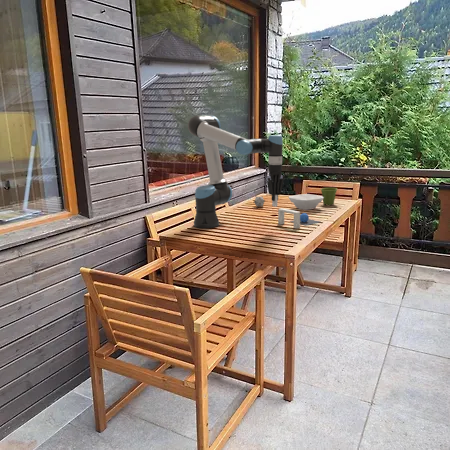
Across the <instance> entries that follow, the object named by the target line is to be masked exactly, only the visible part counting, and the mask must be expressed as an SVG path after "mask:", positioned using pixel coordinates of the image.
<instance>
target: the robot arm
mask: <svg viewBox="0 0 450 450" xmlns="http://www.w3.org/2000/svg"><path fill="white" fill-rule="evenodd" d="M221 127H222V125H221V121H220V119H218V117H216V116H215V115H210V114H208V115H207V114H206V115H193V116H192V117H190V118H189V120H188V122H187V129H188V132H189V133H190V134H191V135H192V136H193V137H198V138H199V140H200V141H201V142H202V145H203V149H204V156H205V160H206V166H207V170H208V171H207V172H208V176H209V177H208V178H209V183H207V184H205V185H200V186H198V187H196V188H195V190H194V192H195V193H194V196H195V197H194V198H195V217H194V220H193V227H195V228H197V229H211V228H217V227H219V226H220V221H219V217H218V215H217V209H216V207H217V206H221V205H225V204H226V203H228V202H230V200H232V197H233V189H232V187H231V186H230V185H229V184H228V181H227V179H225V178H224V172H223V167H222V160H221V156H220V150H219V144H220V145H221V146H225V147H227V148H230V149H232V150H235V151H237V154H239V155H244V156H246V155H250V154H251V155H252V154H260V153H261V154H262V153H263V154H264V153H267V154H268V158H267V159H268V165H267V169H268V172H269V173H268V176H266V177H265V178H264V179H265V182H266V185H267V186H266V187H267V190H268V194H269V195H270V196H271V201H272V203H271V205H272V207H274V208H277V207H278V205H279V203H278V201H279V196H280V195H281V193H282V190H283V186H284V185H283V183H284V180H285V178H286V176H285V175H282V171H283V147H284V146H283V145H284V142H283V136H282V135H280V134H273V135H272V134H271V135H269V136H268V138H251V139H249V138H245V137H242V136H239V135H237V134H234V133H232V132H229V131H227V130H224V129H222V128H221Z"/></svg>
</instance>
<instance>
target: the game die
mask: <svg viewBox="0 0 450 450" xmlns="http://www.w3.org/2000/svg"><path fill="white" fill-rule="evenodd" d="M253 203H254V204H255V207H256V208H258V207H264V204H265V203H266V200H265V198H264V195H261V196H257V195H255V199H254V200H253Z"/></svg>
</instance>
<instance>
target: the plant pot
mask: <svg viewBox="0 0 450 450" xmlns="http://www.w3.org/2000/svg"><path fill="white" fill-rule="evenodd" d="M320 191H321V196H322V197H324V198H323V200H322V201H323V205H325V204H327V205H326V206H333V205H335V201H336V200H335V199H336V194H337V191H338V188H337V187H322V188H320ZM332 204H333V205H332Z"/></svg>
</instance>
